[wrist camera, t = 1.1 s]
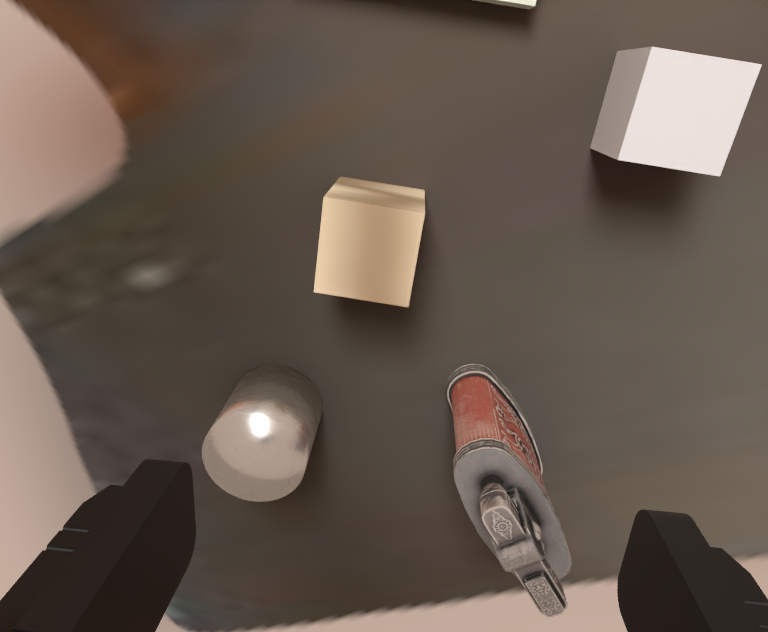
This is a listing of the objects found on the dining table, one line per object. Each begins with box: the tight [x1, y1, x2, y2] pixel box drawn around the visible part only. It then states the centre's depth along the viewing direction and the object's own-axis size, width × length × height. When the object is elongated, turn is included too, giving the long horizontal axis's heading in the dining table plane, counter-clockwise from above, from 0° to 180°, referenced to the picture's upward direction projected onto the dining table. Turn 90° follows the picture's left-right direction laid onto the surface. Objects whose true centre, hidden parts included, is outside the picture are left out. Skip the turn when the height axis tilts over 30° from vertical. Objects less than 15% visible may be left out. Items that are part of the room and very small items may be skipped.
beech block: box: [314, 177, 425, 307], centre depth 25 cm, size 4×4×5 cm
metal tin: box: [202, 365, 322, 502], centre depth 30 cm, size 5×5×5 cm
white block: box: [590, 47, 762, 176], centre depth 23 cm, size 4×4×4 cm
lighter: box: [447, 364, 572, 617], centre depth 27 cm, size 8×3×10 cm, turn 30°
